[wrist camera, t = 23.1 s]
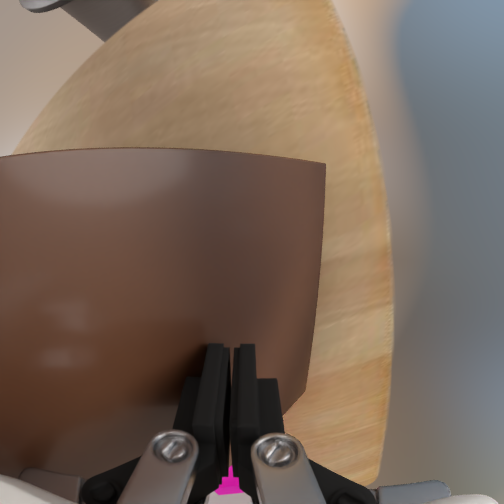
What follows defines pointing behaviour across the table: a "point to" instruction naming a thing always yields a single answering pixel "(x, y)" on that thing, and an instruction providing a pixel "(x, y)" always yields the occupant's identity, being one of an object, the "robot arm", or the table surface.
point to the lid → (144, 290)
